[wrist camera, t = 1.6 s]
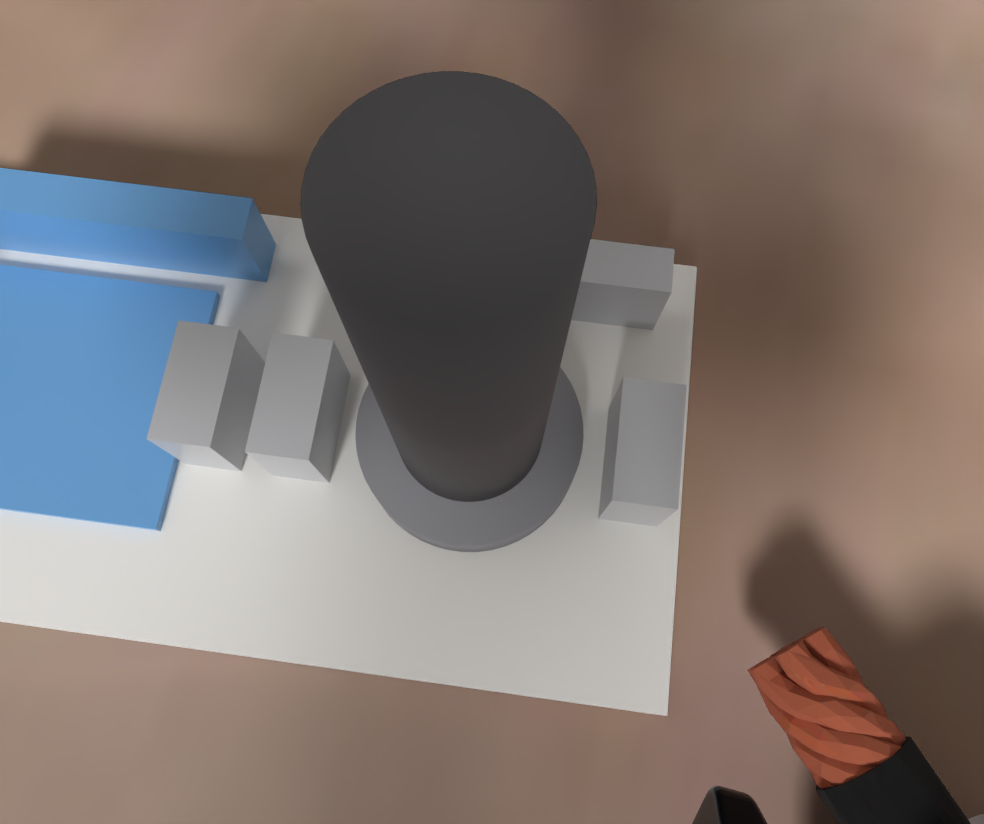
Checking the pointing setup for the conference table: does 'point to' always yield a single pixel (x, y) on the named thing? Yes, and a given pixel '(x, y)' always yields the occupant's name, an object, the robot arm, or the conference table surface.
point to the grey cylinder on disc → (457, 297)
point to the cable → (850, 739)
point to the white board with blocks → (309, 458)
